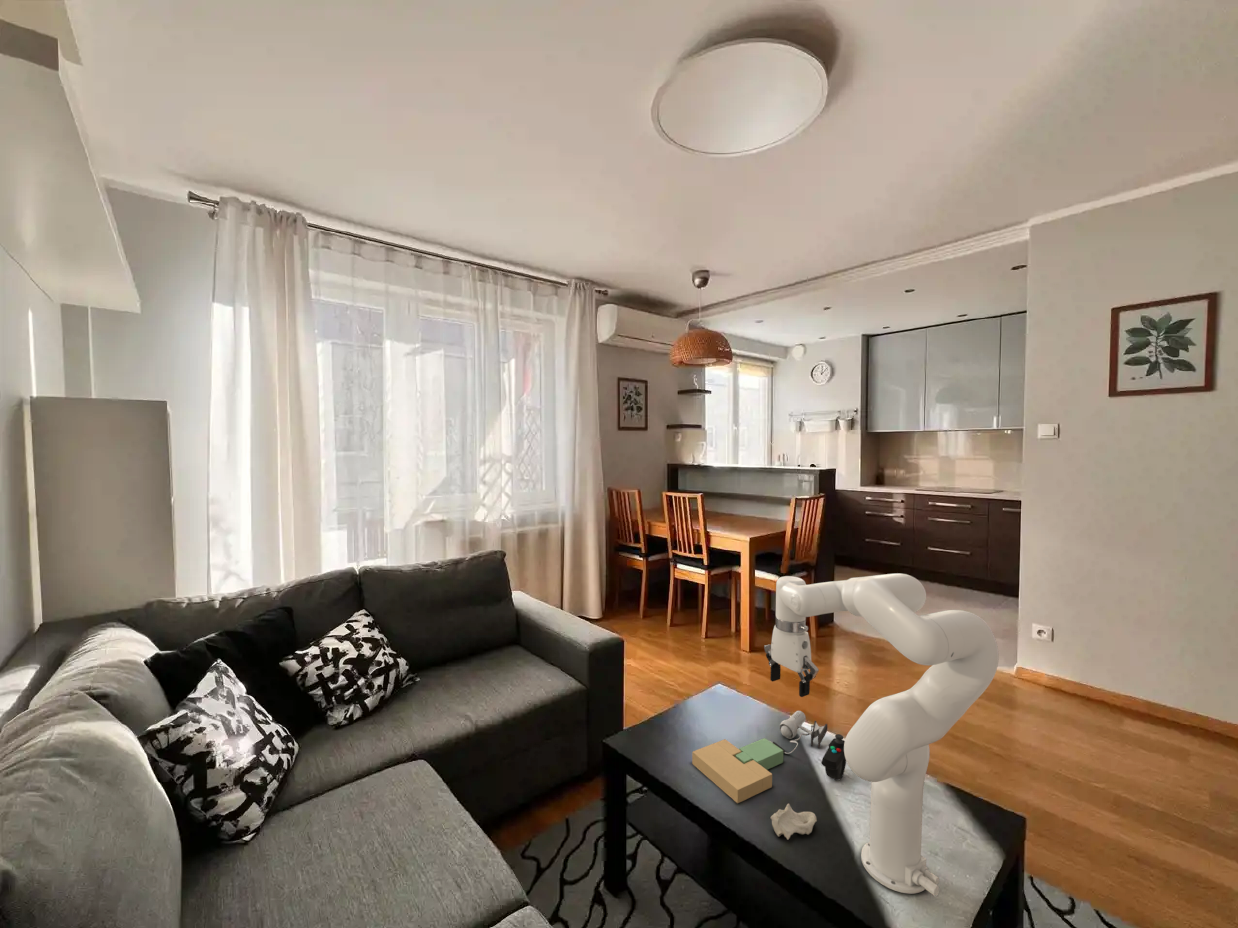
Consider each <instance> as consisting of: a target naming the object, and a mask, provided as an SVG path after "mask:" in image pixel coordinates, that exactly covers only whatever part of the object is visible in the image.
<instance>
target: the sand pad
mask: <svg viewBox="0 0 1238 928" xmlns="http://www.w3.org/2000/svg"><path fill="white" fill-rule="evenodd" d="M691 753H692V754H691V756H692V759H691V761H692V762H691V764H692V766H694V767H695V768H697V770H698V771H700V772H701V773H702V775H704V776H705V777H706V778H708V779H709V780H710V781H711V782H712V783H714V784H715V786H716V787H718V788H719V789H720V790H721V791H722V792H723V793H725V794H726V795H727V796H729V797H730V798H731V799H732V800H733V801H734V802H735V803H736V804H740V803H742V802H744V801H746V800H748V799H750V798H752V797H754V796H756V795H758V794H760V793H762V792H764V791H767V790H769V789H771V788H773V773H772V772H770V771H769V769H768V770H766V769H765V768H763V767H762V766H761V765H759V764H758V763H757V762H755V761H754V760H752V761H750V762H748V763H745V764H743V763H742V762H740V761H739V760H738V759H736V758H735V757H736V755H737V754H739V753H741V751H740V750H739V747H737V746H736V745H734V744H732V743H731V742H730V741H728V739H726V738H725V739H722V740H719V741H716V742H713V743H711V744H709V745H706V746H703V747H700V748H697V749H695V750H693V751H692V752H691Z"/></svg>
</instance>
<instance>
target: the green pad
mask: <svg viewBox="0 0 1238 928" xmlns="http://www.w3.org/2000/svg"><path fill="white" fill-rule="evenodd" d="M770 741H771V740H769V739H767V738H766V737H763V738H761V739H759V740H756V741H754V742H751V743H749V744H746V745H744V746H741V747H738V749H739V750H740V751H741V753H739V754H737V755H736V757H735V758H736V759H738V760H739V761H740V762H742V763H743V764H745V763H748V762H750V761H752V760H754V761H755V762H757V763H758V764H759V765H761V766H762V767H763V768H765V769H766V770H768V771H769V769H772V768H774V767H776V766H778V765H781V764H783V763H784V753H783V750H782V749H780V748H779V747H777V746H776V745H775V744H773V741H771V742H770Z"/></svg>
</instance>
